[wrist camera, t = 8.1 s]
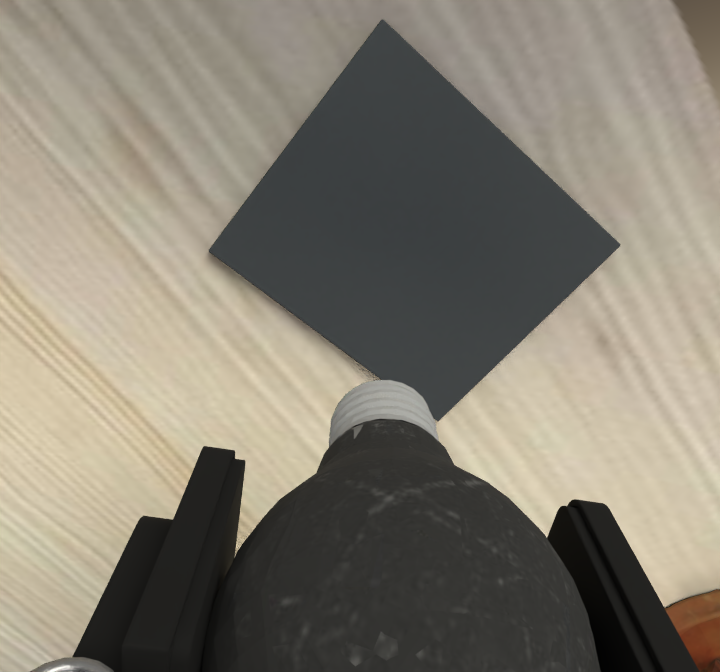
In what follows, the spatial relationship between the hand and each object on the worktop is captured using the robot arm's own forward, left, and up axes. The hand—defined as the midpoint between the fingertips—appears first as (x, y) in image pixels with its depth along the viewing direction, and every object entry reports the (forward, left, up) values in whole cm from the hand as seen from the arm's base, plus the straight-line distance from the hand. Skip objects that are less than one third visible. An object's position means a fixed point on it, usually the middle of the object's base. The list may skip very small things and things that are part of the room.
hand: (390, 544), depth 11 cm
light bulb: (0, 0, -5) cm, 5 cm away
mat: (+1, +1, -18) cm, 18 cm away
